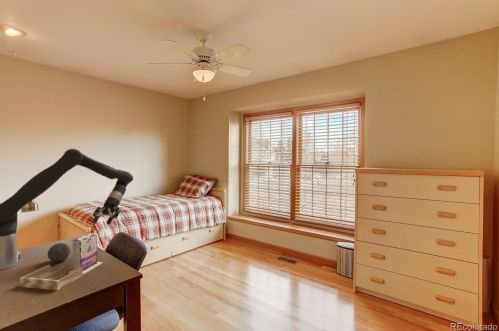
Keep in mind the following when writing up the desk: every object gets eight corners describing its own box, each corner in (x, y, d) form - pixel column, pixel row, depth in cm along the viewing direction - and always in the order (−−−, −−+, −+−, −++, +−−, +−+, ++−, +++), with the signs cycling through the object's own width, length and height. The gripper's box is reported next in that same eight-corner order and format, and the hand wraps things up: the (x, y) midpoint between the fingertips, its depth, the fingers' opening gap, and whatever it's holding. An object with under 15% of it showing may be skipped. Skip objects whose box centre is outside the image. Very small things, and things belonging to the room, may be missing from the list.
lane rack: (20, 286, 115) (19, 278, 115) (48, 272, 129) (48, 264, 129) (58, 290, 113) (57, 281, 113) (82, 275, 127) (82, 267, 127)
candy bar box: (89, 262, 141) (89, 232, 140) (97, 263, 140) (97, 233, 140) (72, 271, 130) (71, 239, 129) (80, 272, 129) (80, 240, 129)
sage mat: (67, 273, 129) (67, 272, 129) (88, 261, 143) (88, 261, 143) (83, 274, 128) (83, 273, 128) (102, 262, 142) (102, 262, 142)
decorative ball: (47, 266, 136) (46, 248, 136) (48, 260, 144) (47, 242, 144) (70, 262, 142) (70, 244, 141) (69, 256, 150) (69, 239, 149)
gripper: (100, 196, 155) (85, 219, 144) (121, 196, 153) (109, 220, 142) (106, 203, 160) (92, 226, 149) (127, 204, 158) (115, 227, 147)
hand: (100, 223), depth 146 cm, fingers open, 8 cm apart
